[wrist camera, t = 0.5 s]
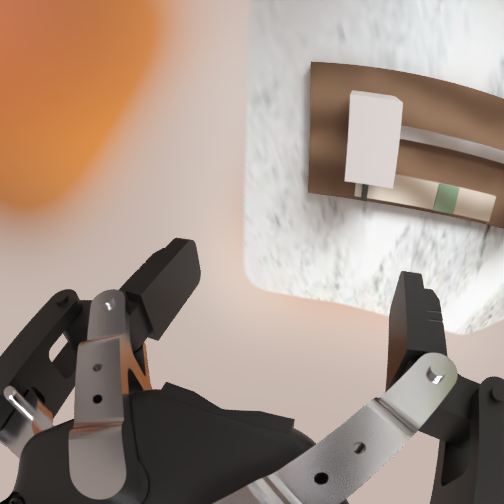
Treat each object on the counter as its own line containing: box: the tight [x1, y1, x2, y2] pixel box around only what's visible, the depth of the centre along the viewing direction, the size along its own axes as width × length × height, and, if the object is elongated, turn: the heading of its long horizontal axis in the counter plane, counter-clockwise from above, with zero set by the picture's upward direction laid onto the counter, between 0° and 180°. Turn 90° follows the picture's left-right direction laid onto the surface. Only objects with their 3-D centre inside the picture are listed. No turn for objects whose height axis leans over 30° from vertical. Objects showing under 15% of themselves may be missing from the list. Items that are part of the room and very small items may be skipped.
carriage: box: [345, 90, 403, 201], centre depth 25 cm, size 11×4×6 cm, turn 2°
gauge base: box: [308, 62, 504, 228], centre depth 23 cm, size 14×30×8 cm, turn 92°
